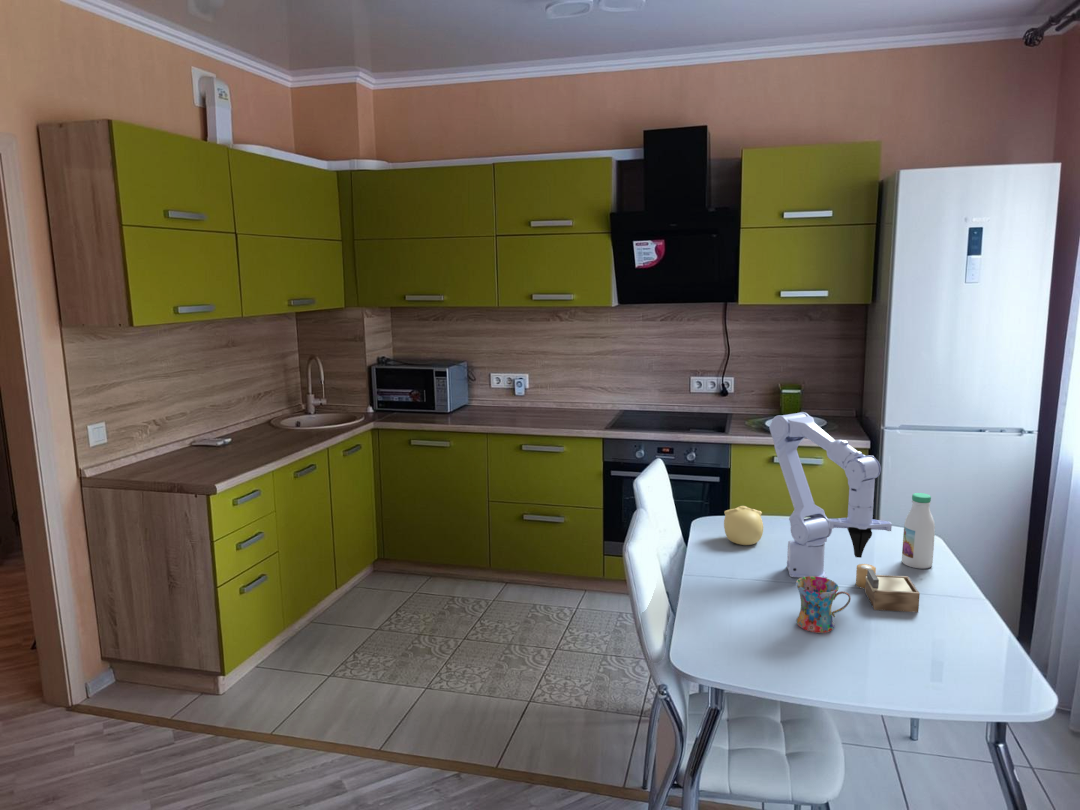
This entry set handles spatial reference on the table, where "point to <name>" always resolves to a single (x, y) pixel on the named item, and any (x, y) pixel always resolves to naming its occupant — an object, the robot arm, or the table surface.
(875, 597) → the wooden box
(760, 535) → the pale yellow round lump
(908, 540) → the milk bottle
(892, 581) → the lid
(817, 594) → the mug
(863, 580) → the roll-on deodorant
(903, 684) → the table surface
